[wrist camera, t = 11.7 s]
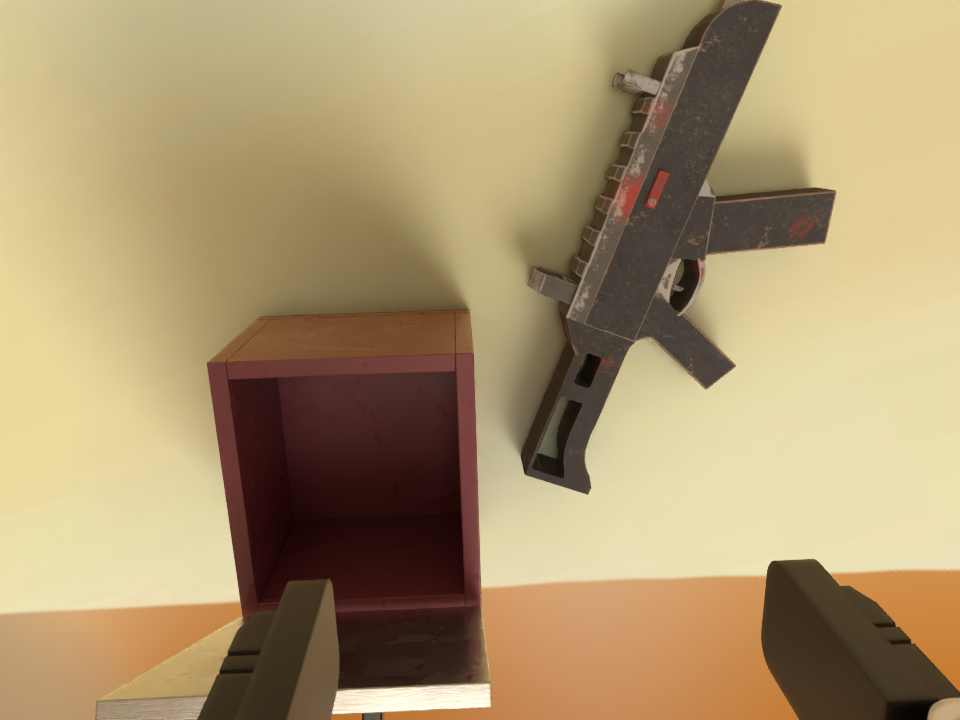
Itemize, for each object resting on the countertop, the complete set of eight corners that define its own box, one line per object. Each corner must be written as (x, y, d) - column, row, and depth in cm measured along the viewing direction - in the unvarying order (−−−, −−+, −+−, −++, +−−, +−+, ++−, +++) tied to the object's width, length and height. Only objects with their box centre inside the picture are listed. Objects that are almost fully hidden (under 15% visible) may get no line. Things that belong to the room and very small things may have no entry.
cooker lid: (95, 700, 23) (86, 892, 22) (490, 681, 24) (498, 870, 23) (240, 616, 38) (238, 729, 37) (481, 605, 38) (486, 717, 38)
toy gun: (672, 501, 49) (464, 435, 47) (904, 25, 41) (663, -82, 38) (688, 528, 46) (465, 458, 44) (944, 16, 37) (683, -102, 35)
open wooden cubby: (260, 316, 44) (206, 362, 35) (469, 309, 44) (473, 352, 35) (284, 525, 48) (242, 618, 39) (476, 517, 48) (481, 608, 39)
